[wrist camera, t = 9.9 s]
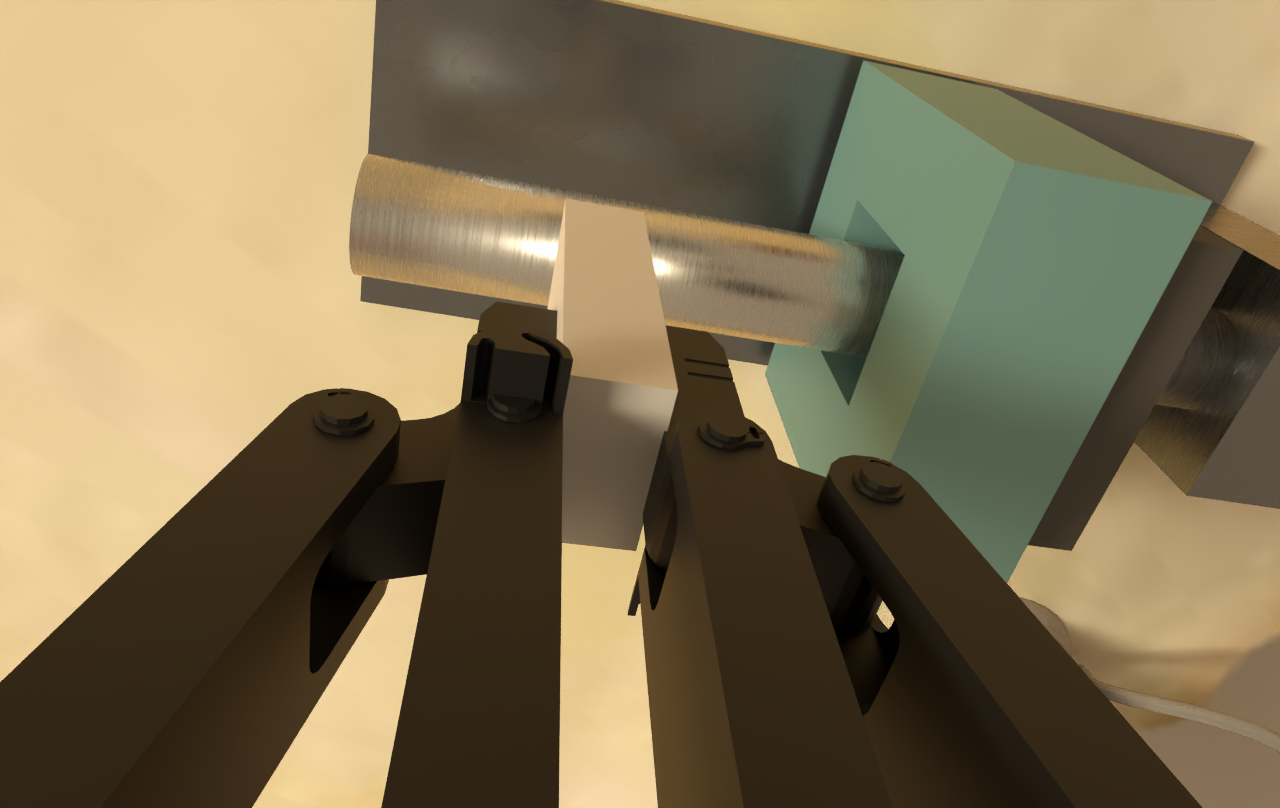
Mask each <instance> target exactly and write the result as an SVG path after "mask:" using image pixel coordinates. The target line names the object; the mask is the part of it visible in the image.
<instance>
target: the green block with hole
mask: <svg viewBox="0 0 1280 808" xmlns="http://www.w3.org/2000/svg"><path fill="white" fill-rule="evenodd" d="M1211 203H1212V201H1211V200H1209V199H1207V198H1205V197H1203V196H1201V195H1199V194H1197V193H1196V192H1194V191H1192V190H1190V189H1188V188H1186V187H1184V186H1182V185H1180V184H1178V183H1176V182H1174V181H1172V180H1171V179H1169V178H1167V177H1165V176H1163V175H1161V174H1159V173H1157V172H1155V171H1153V170H1151V169H1149V168H1147V167H1146V166H1144V165H1142V164H1140V163H1138V162H1136V161H1134V160H1132V159H1130V158H1128V157H1126V156H1124V155H1122V154H1121V153H1119V152H1117V151H1115V150H1113V149H1111V148H1109V147H1107V146H1105V145H1103V144H1101V143H1099V142H1097V141H1096V140H1094V139H1092V138H1090V137H1088V136H1086V135H1084V134H1082V133H1080V132H1078V131H1076V130H1074V129H1073V128H1071V127H1069V126H1067V125H1065V124H1063V123H1061V122H1059V121H1057V120H1055V119H1053V118H1051V117H1049V116H1048V115H1046V114H1044V113H1042V112H1040V111H1038V110H1036V109H1034V108H1032V107H1030V106H1028V105H1026V104H1024V103H1023V102H1021V101H1019V100H1017V99H1015V98H1013V97H1011V96H1009V95H1007V94H1005V93H1003V92H1001V91H999V90H998V89H994V88H989V87H985V86H980V85H975V84H971V83H966V82H962V81H957V80H952V79H948V78H943V77H938V76H934V75H929V74H924V73H920V72H915V71H911V70H906V69H901V68H897V67H892V66H887V65H883V64H878V63H873V62H869V61H864V60H863V63H862V66H861V69H860V73H859V76H858V79H857V82H856V85H855V89H854V92H853V95H852V98H851V101H850V105H849V108H848V111H847V114H846V117H845V121H844V124H843V127H842V130H841V133H840V137H839V140H838V143H837V146H836V149H835V153H834V156H833V159H832V162H831V165H830V169H829V172H828V175H827V178H826V181H825V185H824V188H823V191H822V194H821V197H820V201H819V204H818V207H817V210H816V213H815V217H814V220H813V223H812V226H811V229H810V232H809V234H810V235H816V236H821V237H827V238H832V239H838V240H843V241H849V242H854V243H860V244H865V245H871V246H876V247H882V248H887V249H893V250H898V251H902V253H903V254H904V255H905V257H904V259H903V262H902V265H901V267H900V270H899V273H898V275H897V278H896V281H895V283H894V286H893V289H892V291H891V294H890V297H889V299H888V302H887V305H886V307H885V310H884V313H883V315H882V318H881V321H880V323H879V326H878V329H877V331H876V334H875V337H874V340H873V342H872V345H871V348H870V350H869V353H868V356H867V358H866V357H859V356H853V355H847V354H841V353H835V352H828V351H822V350H816V349H810V348H804V347H798V346H791V345H785V344H779V343H775V344H774V348H773V351H772V354H771V357H770V360H769V364H768V367H767V370H766V373H765V376H766V378H767V381H768V384H769V386H770V389H771V392H772V395H773V397H774V400H775V403H776V405H777V408H778V411H779V414H780V416H781V419H782V422H783V424H784V427H785V430H786V433H787V435H788V438H789V441H790V443H791V446H792V449H793V452H794V454H795V457H796V460H797V462H798V465H799V468H800V469H803V470H806V471H809V472H812V473H815V474H818V475H821V476H824V477H826V476H827V473H828V471H829V468H830V465H831V463H833V462H834V461H835V460H837V459H838V458H839V457H844V456H850V455H860V456H872V457H876V458H880V460H882V459H883V460H886V461H888V462H891V463H892V464H893V465H895V466H897V467H898V468H900V469H902V470H904V471H906V472H907V473H908V474H909V475H911V476H912V477H913V478H914V479H915V480H916V481H917V482H919V483H920V484H921V486H922V487H923V488H924V489H925V490H926V491H927V492H928V494H929V495H930V496H931V497H932V498H933V499H934V500H935V502H936V503H937V504H938V505H939V506H940V507H941V508H942V510H943V511H944V512H945V513H946V514H947V515H948V517H949V518H950V519H951V520H952V521H953V522H954V523H955V525H956V526H957V527H958V528H959V529H960V530H961V531H962V533H963V534H964V535H965V536H966V537H967V538H968V539H969V541H970V542H971V543H972V544H973V545H974V546H975V547H976V549H977V550H978V551H979V552H980V553H981V554H982V556H983V557H984V558H985V559H986V560H987V561H988V562H989V564H990V565H991V566H992V567H993V568H994V569H995V570H996V572H997V573H998V574H999V575H1000V576H1001V577H1002V578H1003V580H1004V581H1005V582H1006V583H1007V582H1008V580H1009V578H1010V576H1011V574H1012V573H1013V571H1014V569H1015V567H1016V565H1017V563H1018V561H1019V560H1020V558H1021V556H1022V554H1023V552H1024V550H1025V548H1026V547H1027V545H1028V543H1029V541H1030V539H1031V537H1032V535H1033V534H1034V532H1035V530H1036V528H1037V526H1038V524H1039V522H1040V521H1041V519H1042V517H1043V515H1044V513H1045V511H1046V509H1047V508H1048V506H1049V504H1050V502H1051V500H1052V498H1053V496H1054V495H1055V493H1056V491H1057V489H1058V487H1059V485H1060V483H1061V482H1062V480H1063V478H1064V476H1065V474H1066V472H1067V470H1068V469H1069V467H1070V465H1071V463H1072V461H1073V459H1074V457H1075V456H1076V454H1077V452H1078V450H1079V448H1080V446H1081V444H1082V443H1083V441H1084V439H1085V437H1086V435H1087V433H1088V431H1089V430H1090V428H1091V426H1092V424H1093V422H1094V420H1095V419H1096V417H1097V415H1098V413H1099V411H1100V409H1101V407H1102V406H1103V404H1104V402H1105V400H1106V398H1107V396H1108V394H1109V393H1110V391H1111V389H1112V387H1113V385H1114V383H1115V381H1116V380H1117V378H1118V376H1119V374H1120V372H1121V370H1122V368H1123V367H1124V365H1125V363H1126V361H1127V359H1128V357H1129V355H1130V354H1131V352H1132V350H1133V348H1134V346H1135V344H1136V342H1137V341H1138V339H1139V337H1140V335H1141V333H1142V331H1143V329H1144V328H1145V326H1146V324H1147V322H1148V320H1149V318H1150V316H1151V315H1152V313H1153V311H1154V309H1155V307H1156V305H1157V303H1158V302H1159V300H1160V298H1161V296H1162V294H1163V292H1164V290H1165V289H1166V287H1167V285H1168V283H1169V281H1170V279H1171V277H1172V276H1173V274H1174V272H1175V270H1176V268H1177V266H1178V264H1179V263H1180V261H1181V259H1182V257H1183V255H1184V253H1185V251H1186V250H1187V248H1188V246H1189V244H1190V242H1191V240H1192V238H1193V237H1194V235H1195V233H1196V231H1197V229H1198V227H1199V225H1200V224H1201V222H1202V220H1203V218H1204V216H1205V214H1206V212H1207V211H1208V209H1209V207H1210V205H1211Z"/></svg>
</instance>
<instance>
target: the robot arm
mask: <svg viewBox="0 0 1280 808" xmlns="http://www.w3.org/2000/svg"><path fill="white" fill-rule="evenodd" d="M643 523H644V533H645V542H646V545H645V549H644V553H643V556H642V560H641V564H640V568H639V571H638V575H637V579H636V582H635V586H634V590H633V594H632V597H631V601H630V605H629V610H628V615H631V616H635V615H636V611H637V608H638V604H640V603H641V614H642V626H643V637H644V649H645V661H646V672H647V684H648V695H649V707H650V719H651V730H652V742H653V754H654V765H655V777H656V789H657V800H658V808H1202V807H1201V806H1200V805H1199V803H1198V802H1197V801H1196V800H1195V799H1194V797H1193V796H1192V795H1191V794H1190V793H1189V792H1188V791H1187V789H1186V788H1185V787H1184V786H1183V785H1182V784H1181V783H1180V781H1179V780H1178V779H1177V778H1176V777H1175V776H1174V775H1173V773H1172V772H1171V771H1170V770H1169V769H1168V768H1167V767H1166V765H1165V764H1164V763H1163V762H1162V761H1161V760H1160V759H1159V757H1158V756H1157V755H1156V754H1155V753H1154V752H1153V750H1152V749H1151V748H1150V747H1149V746H1148V745H1147V744H1146V742H1145V741H1144V740H1143V739H1142V738H1141V737H1140V736H1139V734H1138V733H1137V732H1136V731H1135V730H1134V729H1133V728H1132V726H1131V725H1130V724H1129V723H1128V722H1127V721H1126V720H1125V718H1124V717H1123V716H1122V715H1121V714H1120V713H1119V711H1118V710H1117V709H1116V708H1115V707H1114V706H1113V705H1112V703H1111V702H1110V701H1109V700H1108V699H1107V698H1106V697H1105V695H1104V694H1103V693H1102V692H1101V691H1100V690H1099V689H1098V687H1097V686H1096V685H1095V684H1094V683H1093V682H1092V681H1091V679H1090V678H1089V677H1088V676H1087V675H1086V674H1085V672H1084V671H1083V670H1082V669H1081V668H1080V667H1079V666H1078V664H1077V663H1076V662H1075V661H1074V660H1073V659H1072V658H1071V656H1070V655H1069V654H1068V653H1067V652H1066V651H1065V650H1064V648H1063V647H1062V646H1061V645H1060V644H1059V643H1058V642H1057V640H1056V639H1055V638H1054V637H1053V636H1052V635H1051V633H1050V632H1049V631H1048V630H1047V629H1046V628H1045V627H1044V625H1043V624H1042V623H1041V622H1040V621H1039V620H1038V619H1037V617H1036V616H1035V615H1034V614H1033V613H1032V612H1031V611H1030V609H1029V608H1028V607H1027V606H1026V605H1025V604H1024V603H1023V601H1022V600H1021V599H1020V598H1019V597H1018V596H1017V595H1016V593H1015V592H1014V591H1013V590H1012V589H1011V588H1010V586H1009V585H1008V584H1007V583H1006V582H1005V581H1004V580H1003V578H1002V577H1001V576H1000V575H999V574H998V573H997V572H996V570H995V569H994V568H993V567H992V566H991V565H990V564H989V562H988V561H987V560H986V559H985V558H984V557H983V556H982V554H981V553H980V552H979V551H978V550H977V549H976V547H975V546H974V545H973V544H972V543H971V542H970V541H969V539H968V538H967V537H966V536H965V535H964V534H963V533H962V531H961V530H960V529H959V528H958V527H957V526H956V525H955V523H954V522H953V521H952V520H951V519H950V518H949V517H948V515H947V514H946V513H945V512H944V511H943V510H942V508H941V507H940V506H939V505H938V504H937V503H936V502H935V500H934V499H933V498H932V497H931V496H930V495H929V494H928V492H927V491H926V490H925V489H924V488H923V487H922V486H921V484H920V483H919V482H917V481H916V480H915V479H914V478H913V477H912V476H911V475H909V474H908V473H907V472H906V471H904V470H902V469H900V468H898V467H897V466H895V465H893V464H892V463H891V462H888V461H886V460H883V459H882V460H880V458H876V457H872V456H860V455H850V456H844V457H839V458H838V459H837V460H835V461H834V462H833V463H831V465H830V468H829V471H828V473H827V476H826V477H824V476H821V475H818V474H815V473H812V472H809V471H806V470H803V469H800V468H797V467H794V466H792V465H790V464H787V463H785V462H782V461H781V460H779V459H778V458H777V455H776V452H775V449H774V446H773V443H772V441H771V439H770V438H769V436H768V435H767V433H766V431H765V430H763V429H762V428H761V427H760V426H758V425H757V424H756V423H754V422H753V421H751V420H749V419H747V418H745V417H744V413H743V410H742V407H741V403H740V400H739V397H738V393H737V390H736V387H735V383H734V382H733V377H732V373H731V370H730V368H729V363H728V360H727V357H726V354H725V350H724V348H723V347H722V346H721V345H720V344H719V343H718V342H717V341H716V340H715V339H714V338H713V337H712V336H711V335H710V334H709V333H708V332H706V331H700V330H693V329H687V328H681V327H674V326H668V325H665V320H664V315H663V310H662V305H661V300H660V295H659V289H658V284H657V279H656V274H655V269H654V264H653V258H652V253H651V248H650V243H649V238H648V233H647V227H646V222H645V217H644V212H640V211H634V210H629V209H623V208H617V207H611V206H606V205H600V204H594V203H588V202H583V201H577V200H571V199H565V205H564V211H563V217H562V223H561V229H560V235H559V241H558V247H557V253H556V260H555V266H554V272H553V278H552V284H551V290H550V296H549V302H548V308H547V309H543V308H536V307H530V306H523V305H517V304H510V303H504V302H497V301H496V302H495V303H494V304H493V305H491V306H490V307H489V308H487V309H486V310H485V311H484V312H482V313H481V315H480V320H479V326H478V331H477V334H475V335H473V337H472V338H471V340H470V341H469V343H468V345H467V353H466V362H465V370H464V379H463V388H462V396H461V403H460V404H458V405H457V406H456V407H455V408H454V409H452V410H450V411H449V412H447V413H445V414H442V415H439V416H435V417H432V418H427V419H419V420H408V421H401V420H400V417H399V414H398V411H397V409H396V408H395V407H394V406H393V405H392V404H390V403H389V402H388V401H387V400H386V399H384V398H381V397H379V396H376V395H374V394H372V393H369V392H365V391H359V390H353V389H343V388H340V389H326V390H321V391H318V392H314V393H310V394H306V395H304V396H303V397H301V398H299V399H298V400H296V401H295V402H293V403H291V404H290V405H289V406H288V407H287V408H286V409H285V410H284V411H283V412H282V413H281V414H280V415H279V416H278V417H277V418H276V419H275V420H274V421H273V422H271V423H270V424H269V425H268V426H267V427H266V428H265V429H264V430H263V431H262V432H261V433H260V434H259V435H258V436H257V437H256V438H255V439H254V440H253V441H252V442H251V443H250V444H249V445H247V446H246V447H245V448H244V449H243V450H242V451H241V452H240V453H239V454H238V455H237V456H236V457H235V458H234V459H233V460H232V461H231V462H230V463H229V464H228V465H227V466H226V467H225V468H223V469H222V470H221V471H220V472H219V473H218V474H217V475H216V476H215V477H214V478H213V479H212V480H211V481H210V482H209V483H208V484H207V485H206V486H205V487H204V488H203V489H202V490H201V491H199V492H198V493H197V494H196V495H195V496H194V497H193V498H192V499H191V500H190V501H189V502H188V503H187V504H186V505H185V506H184V507H183V508H182V509H181V510H180V511H179V512H178V513H177V514H175V515H174V516H173V517H172V518H171V519H170V520H169V521H168V522H167V523H166V524H165V525H164V526H163V527H162V528H161V529H160V530H159V531H158V532H157V533H156V534H155V535H154V536H153V537H151V538H150V539H149V540H148V541H147V542H146V543H145V544H144V545H143V546H142V547H141V548H140V549H139V550H138V551H137V552H136V553H135V554H134V555H133V556H132V557H131V558H130V559H129V560H127V561H126V562H125V563H124V564H123V565H122V566H121V567H120V568H119V569H118V570H117V571H116V572H115V573H114V574H113V575H112V576H111V577H110V578H109V579H108V580H107V581H106V582H105V583H103V584H102V585H101V586H100V587H99V588H98V589H97V590H96V591H95V592H94V593H93V594H92V595H91V596H90V597H89V598H88V599H87V600H86V601H85V602H84V603H83V604H82V605H81V606H79V607H78V608H77V609H76V610H75V611H74V612H73V613H72V614H71V615H70V616H69V617H68V618H67V619H66V620H65V621H64V622H63V623H62V624H61V625H60V626H59V627H58V628H57V629H55V630H54V631H53V632H52V633H51V634H50V635H49V636H48V637H47V638H46V639H45V640H44V641H43V642H42V643H41V644H40V645H39V646H38V647H37V648H36V649H35V650H34V651H33V652H31V653H30V654H29V655H28V656H27V657H26V658H25V659H24V660H23V661H22V662H21V663H20V664H19V665H18V666H17V667H16V668H15V669H14V670H13V671H12V672H11V673H10V674H9V675H7V676H6V677H5V678H4V679H3V680H2V681H1V682H0V808H252V807H253V805H254V803H255V802H256V800H257V799H258V797H259V795H260V794H261V792H262V790H263V789H264V787H265V786H266V784H267V782H268V781H269V779H270V778H271V776H272V774H273V773H274V771H275V770H276V768H277V766H278V765H279V763H280V761H281V760H282V758H283V757H284V755H285V753H286V752H287V750H288V749H289V747H290V745H291V744H292V742H293V741H294V739H295V737H296V736H297V734H298V733H299V731H300V729H301V728H302V726H303V724H304V723H305V721H306V720H307V718H308V716H309V715H310V713H311V712H312V710H313V708H314V707H315V705H316V704H317V702H318V700H319V699H320V697H321V695H322V694H323V692H324V691H325V689H326V687H327V686H328V684H329V683H330V681H331V679H332V678H333V676H334V675H335V673H336V671H337V670H338V668H339V666H340V665H341V663H342V662H343V660H344V658H345V657H346V655H347V654H348V652H349V650H350V649H351V647H352V646H353V644H354V642H355V641H356V639H357V638H358V636H359V634H360V633H361V631H362V629H363V628H364V626H365V625H366V623H367V621H368V620H369V618H370V617H371V615H372V613H373V612H374V610H375V609H376V607H377V605H378V604H379V602H380V600H381V599H382V597H383V596H384V594H385V591H386V588H387V584H388V581H389V579H395V578H402V577H409V576H417V575H424V574H427V577H426V582H425V587H424V592H423V598H422V603H421V608H420V613H419V618H418V623H417V628H416V633H415V638H414V644H413V649H412V654H411V659H410V664H409V669H408V674H407V679H406V685H405V690H404V695H403V700H402V705H401V710H400V715H399V720H398V726H397V731H396V736H395V741H394V746H393V751H392V756H391V761H390V767H389V772H388V777H387V782H386V787H385V792H384V797H383V802H382V807H381V808H559V735H560V646H561V558H562V543H570V544H579V545H588V546H597V547H605V548H614V549H623V550H632V551H636V549H637V545H638V541H639V538H640V534H641V530H642V526H643ZM882 601H883V602H884V603H885V604H886V606H887V607H888V609H889V610H890V612H891V613H892V615H893V617H894V619H895V620H894V622H893V624H892V626H891V627H890V628H889V629H888V628H887V627H886V626H885V625H884V624H883V623H882V621H881V620H880V618H879V617H878V615H877V614H876V613H877V611H878V609H879V607H880V605H881V603H882Z"/></svg>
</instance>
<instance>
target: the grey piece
mask: <svg viewBox="0 0 1280 808" xmlns="http://www.w3.org/2000/svg"><path fill="white" fill-rule="evenodd" d="M863 60H864V61H869V62H873V63H878V64H883V65H887V66H892V67H897V68H901V69H906V70H911V71H915V72H920V73H924V74H929V75H934V76H938V77H943V78H948V79H952V80H957V81H962V82H966V83H971V84H975V85H980V86H985V87H989V88H994V89H998V90H999V91H1001V92H1003V93H1005V94H1007V95H1009V96H1011V97H1013V98H1015V99H1017V100H1019V101H1021V102H1023V103H1024V104H1026V105H1028V106H1030V107H1032V108H1034V109H1036V110H1038V111H1040V112H1042V113H1044V114H1046V115H1048V116H1049V117H1051V118H1053V119H1055V120H1057V121H1059V122H1061V123H1063V124H1065V125H1067V126H1069V127H1071V128H1073V129H1074V130H1076V131H1078V132H1080V133H1082V134H1084V135H1086V136H1088V137H1090V138H1092V139H1094V140H1096V141H1097V142H1099V143H1101V144H1103V145H1105V146H1107V147H1109V148H1111V149H1113V150H1115V151H1117V152H1119V153H1121V154H1122V155H1124V156H1126V157H1128V158H1130V159H1132V160H1134V161H1136V162H1138V163H1140V164H1142V165H1144V166H1146V167H1147V168H1149V169H1151V170H1153V171H1155V172H1157V173H1159V174H1161V175H1163V176H1165V177H1167V178H1169V179H1171V180H1172V181H1174V182H1176V183H1178V184H1180V185H1182V186H1184V187H1186V188H1188V189H1190V190H1192V191H1194V192H1196V193H1197V194H1199V195H1201V196H1203V197H1205V198H1207V199H1209V200H1211V201H1212V203H1211V205H1210V207H1209V209H1208V211H1207V212H1206V214H1205V216H1204V218H1203V220H1202V222H1201V224H1200V226H1202V227H1203V228H1205V229H1207V230H1209V231H1211V232H1212V233H1214V234H1216V235H1218V236H1219V237H1221V238H1223V239H1225V240H1226V241H1228V242H1230V243H1232V244H1233V245H1235V246H1237V247H1239V248H1240V249H1242V250H1243V252H1242V254H1241V256H1240V257H1239V259H1238V261H1237V263H1236V264H1235V266H1234V268H1233V270H1232V271H1231V273H1230V275H1229V277H1228V278H1227V280H1226V282H1225V283H1224V285H1223V287H1222V289H1221V290H1220V292H1219V294H1218V296H1217V297H1216V299H1215V301H1214V303H1213V304H1212V306H1211V308H1210V310H1209V311H1208V313H1207V315H1206V317H1205V318H1204V320H1203V322H1202V324H1201V325H1200V327H1199V329H1198V331H1197V332H1196V334H1195V336H1194V338H1193V339H1192V341H1191V343H1190V345H1189V346H1188V348H1187V350H1186V352H1185V353H1184V355H1183V357H1182V359H1181V360H1180V362H1179V364H1178V366H1177V367H1176V369H1175V371H1174V373H1173V374H1172V376H1171V378H1170V380H1169V381H1168V383H1167V385H1166V387H1165V388H1164V390H1163V392H1162V394H1161V395H1160V397H1159V399H1158V401H1157V402H1156V404H1155V406H1154V408H1153V409H1152V411H1151V413H1150V414H1149V416H1148V418H1147V420H1146V421H1145V423H1144V425H1143V427H1142V428H1141V430H1140V432H1139V434H1138V435H1137V437H1136V439H1135V441H1134V442H1135V443H1136V444H1137V445H1138V446H1139V447H1140V448H1141V449H1142V450H1143V451H1144V452H1145V453H1146V454H1147V455H1148V456H1149V457H1150V458H1151V459H1152V460H1153V461H1154V462H1155V463H1156V464H1157V465H1158V467H1159V468H1160V469H1161V470H1162V471H1163V472H1164V473H1165V474H1166V475H1167V476H1168V477H1169V478H1170V479H1171V480H1172V481H1173V482H1174V483H1175V484H1176V485H1177V486H1178V487H1179V488H1180V489H1181V490H1182V491H1183V492H1184V493H1185V494H1186V495H1189V496H1196V497H1203V498H1209V499H1216V500H1223V501H1230V502H1237V503H1244V504H1251V505H1258V506H1264V507H1271V508H1278V509H1280V236H1279V235H1277V234H1275V233H1273V232H1271V231H1269V230H1267V229H1266V228H1264V227H1262V226H1260V225H1258V224H1256V223H1254V222H1252V221H1250V220H1248V219H1246V218H1244V217H1242V216H1241V215H1239V214H1237V213H1235V212H1233V211H1231V210H1229V209H1227V208H1225V207H1223V206H1221V205H1220V204H1221V203H1222V201H1223V199H1224V197H1225V195H1226V193H1227V192H1228V190H1229V188H1230V186H1231V184H1232V182H1233V181H1234V179H1235V177H1236V175H1237V173H1238V171H1239V170H1240V168H1241V166H1242V164H1243V162H1244V160H1245V159H1246V157H1247V155H1248V153H1249V151H1250V149H1251V148H1252V146H1253V144H1254V141H1251V140H1249V139H1246V138H1244V137H1241V136H1239V135H1235V134H1230V133H1225V132H1221V131H1216V130H1211V129H1207V128H1202V127H1198V126H1193V125H1188V124H1184V123H1179V122H1175V121H1170V120H1165V119H1161V118H1156V117H1151V116H1147V115H1142V114H1138V113H1133V112H1128V111H1124V110H1119V109H1115V108H1110V107H1105V106H1101V105H1096V104H1092V103H1087V102H1082V101H1078V100H1073V99H1068V98H1064V97H1059V96H1055V95H1050V94H1045V93H1041V92H1036V91H1032V90H1027V89H1022V88H1018V87H1013V86H1009V85H1004V84H999V83H995V82H990V81H985V80H981V79H976V78H972V77H967V76H962V75H958V74H953V73H949V72H944V71H939V70H935V69H930V68H926V67H921V66H916V65H912V64H907V63H902V62H898V61H893V60H889V59H884V58H879V57H875V56H870V55H866V54H861V53H856V52H852V51H847V50H842V49H838V48H833V47H829V46H824V45H819V44H815V43H810V42H806V41H801V40H796V39H792V38H787V37H783V36H778V35H773V34H769V33H764V32H759V31H755V30H750V29H746V28H741V27H736V26H732V25H727V24H723V23H718V22H713V21H709V20H704V19H700V18H695V17H690V16H686V15H681V14H676V13H672V12H667V11H663V10H658V9H653V8H649V7H644V6H640V5H635V4H630V3H626V2H621V1H617V0H376V15H375V34H374V53H373V72H372V91H371V110H370V130H369V149H368V155H367V156H366V157H365V159H364V161H363V163H362V166H361V168H360V172H359V175H358V179H357V184H356V188H355V194H354V200H353V206H352V214H351V224H350V243H349V247H350V264H351V269H352V272H353V274H355V275H360V276H362V282H361V301H363V302H369V303H376V304H382V305H388V306H395V307H401V308H407V309H414V310H420V311H426V312H433V313H439V314H445V315H452V316H458V317H464V318H471V319H477V320H480V315H481V313H482V312H484V311H485V310H486V309H487V308H489V307H490V306H491V305H493V304H494V303H495V302H496V301H497V302H504V303H510V304H517V305H523V306H530V307H536V308H543V309H547V308H548V302H549V296H550V290H551V284H552V278H553V272H554V266H555V260H556V253H557V247H558V241H559V235H560V229H561V223H562V217H563V211H564V205H565V199H571V200H577V201H583V202H588V203H594V204H600V205H606V206H611V207H617V208H623V209H629V210H634V211H640V212H644V217H645V222H646V227H647V233H648V238H649V243H650V248H651V253H652V258H653V264H654V269H655V274H656V279H657V284H658V289H659V295H660V300H661V305H662V310H663V315H664V320H665V325H668V326H674V327H681V328H687V329H693V330H700V331H706V332H708V333H709V334H710V335H711V336H712V337H713V338H714V339H715V340H716V341H717V342H718V343H719V344H720V345H721V346H722V347H723V348H724V350H725V354H726V357H727V359H730V360H737V361H743V362H749V363H756V364H762V365H768V364H769V360H770V357H771V354H772V351H773V348H774V344H775V343H779V344H785V345H791V346H798V347H804V348H810V349H816V350H822V351H828V352H835V353H841V354H847V355H853V356H859V357H866V358H867V356H868V353H869V350H870V348H871V345H872V342H873V340H874V337H875V334H876V331H877V329H878V326H879V323H880V321H881V318H882V315H883V313H884V310H885V307H886V305H887V302H888V299H889V297H890V294H891V291H892V289H893V286H894V283H895V281H896V278H897V275H898V273H899V270H900V267H901V265H902V262H903V259H904V257H905V255H904V254H903V253H902V251H898V250H893V249H887V248H882V247H876V246H871V245H865V244H860V243H854V242H849V241H843V240H838V239H832V238H827V237H821V236H816V235H810V234H809V232H810V229H811V226H812V223H813V220H814V217H815V213H816V210H817V207H818V204H819V201H820V197H821V194H822V191H823V188H824V185H825V181H826V178H827V175H828V172H829V169H830V165H831V162H832V159H833V156H834V153H835V149H836V146H837V143H838V140H839V137H840V133H841V130H842V127H843V124H844V121H845V117H846V114H847V111H848V108H849V105H850V101H851V98H852V95H853V92H854V89H855V85H856V82H857V79H858V76H859V73H860V69H861V66H862V63H863Z"/></svg>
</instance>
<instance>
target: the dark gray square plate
mask: <svg viewBox="0 0 1280 808" xmlns="http://www.w3.org/2000/svg"><path fill="white" fill-rule="evenodd" d="M1242 252H1243V250H1242V249H1240V248H1239V247H1237V246H1235V245H1233V244H1232V243H1230V242H1228V241H1226V240H1225V239H1223V238H1221V237H1219V236H1218V235H1216V234H1214V233H1212V232H1211V231H1209V230H1207V229H1205V228H1203V227H1202V226H1200V225H1199V227H1198V229H1197V231H1196V233H1195V235H1194V237H1193V238H1192V240H1191V242H1190V244H1189V246H1188V248H1187V250H1186V251H1185V253H1184V255H1183V257H1182V259H1181V261H1180V263H1179V264H1178V266H1177V268H1176V270H1175V272H1174V274H1173V276H1172V277H1171V279H1170V281H1169V283H1168V285H1167V287H1166V289H1165V290H1164V292H1163V294H1162V296H1161V298H1160V300H1159V302H1158V303H1157V305H1156V307H1155V309H1154V311H1153V313H1152V315H1151V316H1150V318H1149V320H1148V322H1147V324H1146V326H1145V328H1144V329H1143V331H1142V333H1141V335H1140V337H1139V339H1138V341H1137V342H1136V344H1135V346H1134V348H1133V350H1132V352H1131V354H1130V355H1129V357H1128V359H1127V361H1126V363H1125V365H1124V367H1123V368H1122V370H1121V372H1120V374H1119V376H1118V378H1117V380H1116V381H1115V383H1114V385H1113V387H1112V389H1111V391H1110V393H1109V394H1108V396H1107V398H1106V400H1105V402H1104V404H1103V406H1102V407H1101V409H1100V411H1099V413H1098V415H1097V417H1096V419H1095V420H1094V422H1093V424H1092V426H1091V428H1090V430H1089V431H1088V433H1087V435H1086V437H1085V439H1084V441H1083V443H1082V444H1081V446H1080V448H1079V450H1078V452H1077V454H1076V456H1075V457H1074V459H1073V461H1072V463H1071V465H1070V467H1069V469H1068V470H1067V472H1066V474H1065V476H1064V478H1063V480H1062V482H1061V483H1060V485H1059V487H1058V489H1057V491H1056V493H1055V495H1054V496H1053V498H1052V500H1051V502H1050V504H1049V506H1048V508H1047V509H1046V511H1045V513H1044V515H1043V517H1042V519H1041V521H1040V522H1039V524H1038V526H1037V528H1036V530H1035V532H1034V534H1033V535H1032V537H1031V539H1030V541H1029V543H1028V545H1032V546H1039V547H1047V548H1055V549H1062V550H1070V551H1072V549H1073V547H1074V545H1075V544H1076V542H1077V540H1078V539H1079V537H1080V535H1081V533H1082V532H1083V530H1084V528H1085V526H1086V525H1087V523H1088V521H1089V519H1090V518H1091V516H1092V514H1093V512H1094V511H1095V509H1096V507H1097V505H1098V504H1099V502H1100V500H1101V498H1102V497H1103V495H1104V493H1105V491H1106V490H1107V488H1108V486H1109V484H1110V483H1111V481H1112V479H1113V477H1114V476H1115V474H1116V472H1117V470H1118V469H1119V467H1120V465H1121V463H1122V462H1123V460H1124V458H1125V456H1126V455H1127V453H1128V451H1129V449H1130V448H1131V446H1132V444H1133V442H1134V441H1135V439H1136V437H1137V435H1138V434H1139V432H1140V430H1141V428H1142V427H1143V425H1144V423H1145V421H1146V420H1147V418H1148V416H1149V414H1150V413H1151V411H1152V409H1153V408H1154V406H1155V404H1156V402H1157V401H1158V399H1159V397H1160V395H1161V394H1162V392H1163V390H1164V388H1165V387H1166V385H1167V383H1168V381H1169V380H1170V378H1171V376H1172V374H1173V373H1174V371H1175V369H1176V367H1177V366H1178V364H1179V362H1180V360H1181V359H1182V357H1183V355H1184V353H1185V352H1186V350H1187V348H1188V346H1189V345H1190V343H1191V341H1192V339H1193V338H1194V336H1195V334H1196V332H1197V331H1198V329H1199V327H1200V325H1201V324H1202V322H1203V320H1204V318H1205V317H1206V315H1207V313H1208V311H1209V310H1210V308H1211V306H1212V304H1213V303H1214V301H1215V299H1216V297H1217V296H1218V294H1219V292H1220V290H1221V289H1222V287H1223V285H1224V283H1225V282H1226V280H1227V278H1228V277H1229V275H1230V273H1231V271H1232V270H1233V268H1234V266H1235V264H1236V263H1237V261H1238V259H1239V257H1240V256H1241V254H1242Z"/></svg>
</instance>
